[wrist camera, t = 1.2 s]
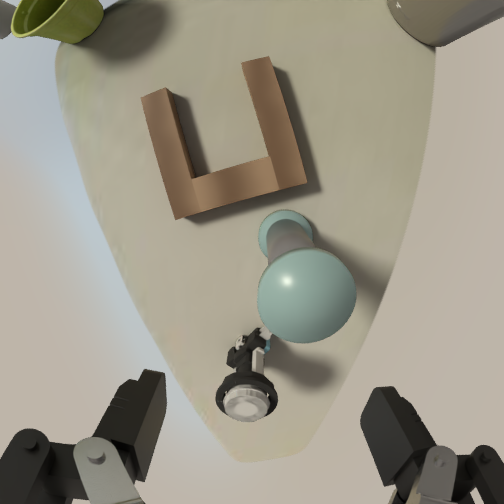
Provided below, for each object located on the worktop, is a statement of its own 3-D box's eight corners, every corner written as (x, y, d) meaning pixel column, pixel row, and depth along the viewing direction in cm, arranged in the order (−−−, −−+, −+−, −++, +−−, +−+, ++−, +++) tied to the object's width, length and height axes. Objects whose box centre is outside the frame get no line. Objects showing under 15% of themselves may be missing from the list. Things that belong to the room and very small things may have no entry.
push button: (254, 306, 30) (252, 367, 20) (292, 334, 30) (303, 397, 21) (216, 345, 31) (201, 409, 22) (252, 369, 32) (250, 434, 22)
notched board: (268, 63, 23) (269, 56, 21) (304, 181, 26) (307, 182, 24) (148, 102, 24) (140, 97, 22) (181, 216, 27) (175, 219, 25)
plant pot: (42, 53, 21) (-2, 38, 13) (77, -7, 19) (42, -33, 11) (91, 60, 22) (45, 37, 14) (131, -6, 20) (99, -42, 11)
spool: (304, 203, 26) (348, 241, 13) (315, 253, 28) (361, 328, 14) (252, 217, 27) (245, 268, 14) (266, 266, 28) (271, 352, 15)
